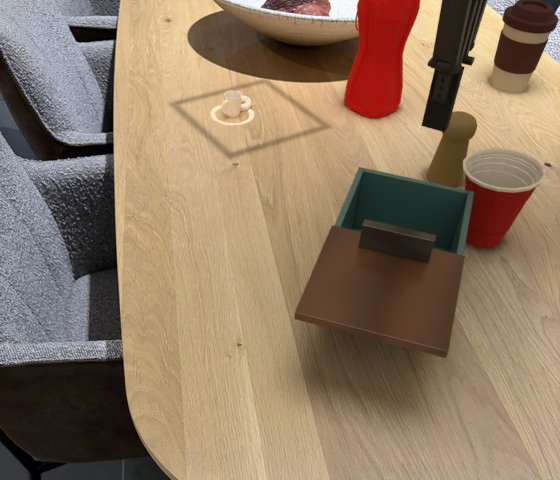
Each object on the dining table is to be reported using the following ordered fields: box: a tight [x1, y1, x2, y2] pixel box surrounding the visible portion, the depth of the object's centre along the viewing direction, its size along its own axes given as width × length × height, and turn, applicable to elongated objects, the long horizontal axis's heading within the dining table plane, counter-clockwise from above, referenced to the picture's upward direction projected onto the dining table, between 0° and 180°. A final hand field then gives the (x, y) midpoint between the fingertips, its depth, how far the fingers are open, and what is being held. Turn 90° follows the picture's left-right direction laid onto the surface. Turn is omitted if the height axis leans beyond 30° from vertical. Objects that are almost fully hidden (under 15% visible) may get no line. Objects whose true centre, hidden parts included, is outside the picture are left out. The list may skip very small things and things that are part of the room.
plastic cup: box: [463, 147, 547, 250], centre depth 85 cm, size 11×11×12 cm
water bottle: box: [344, 0, 421, 119], centre depth 104 cm, size 9×11×25 cm
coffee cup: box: [489, 0, 559, 94], centre depth 117 cm, size 10×10×15 cm
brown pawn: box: [425, 110, 478, 188], centre depth 94 cm, size 6×6×11 cm
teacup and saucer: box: [209, 90, 256, 127], centre depth 107 cm, size 9×8×4 cm
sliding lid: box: [293, 219, 466, 359], centre depth 64 cm, size 16×16×4 cm
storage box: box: [333, 166, 474, 255], centre depth 79 cm, size 16×16×10 cm
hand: (434, 125), depth 68 cm, fingers closed
